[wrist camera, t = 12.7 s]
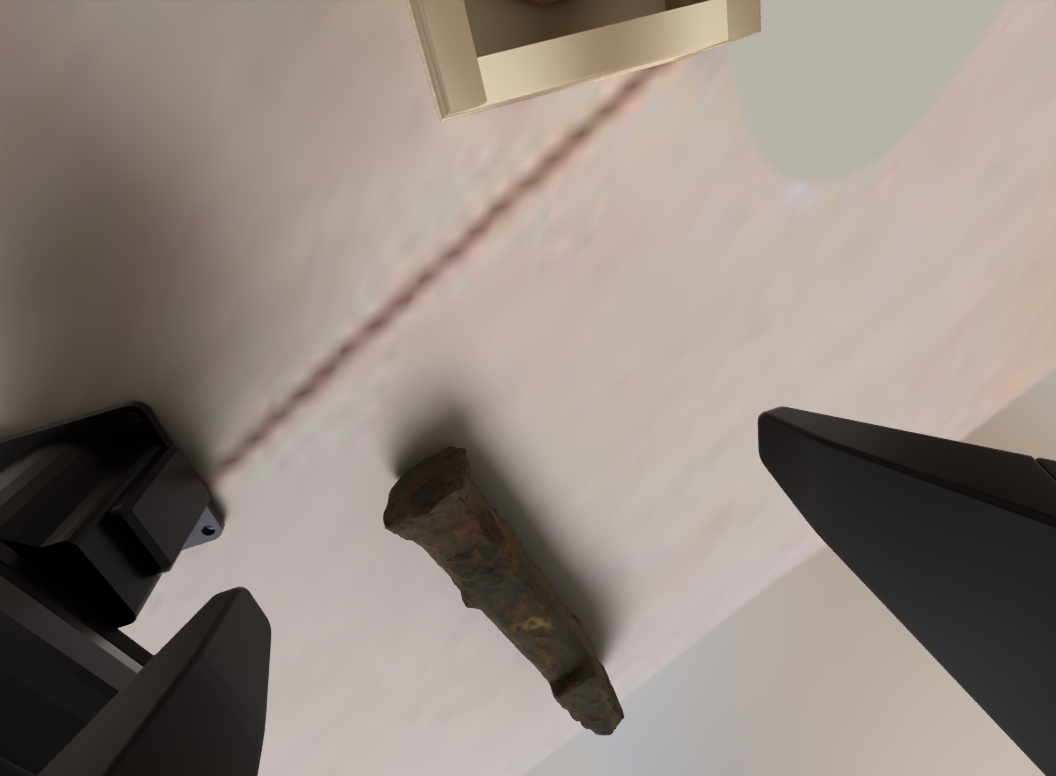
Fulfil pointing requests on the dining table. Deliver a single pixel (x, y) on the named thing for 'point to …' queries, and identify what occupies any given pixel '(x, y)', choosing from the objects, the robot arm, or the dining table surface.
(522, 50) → the beech holder
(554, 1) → the sprinkles bottle
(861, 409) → the dining table surface
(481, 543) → the hand tool
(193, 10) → the dining table surface
